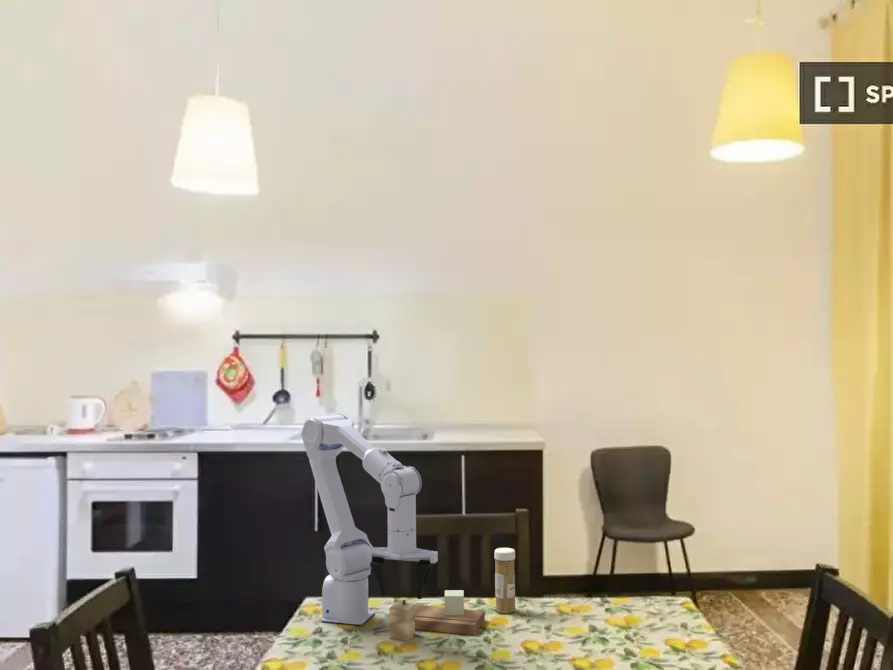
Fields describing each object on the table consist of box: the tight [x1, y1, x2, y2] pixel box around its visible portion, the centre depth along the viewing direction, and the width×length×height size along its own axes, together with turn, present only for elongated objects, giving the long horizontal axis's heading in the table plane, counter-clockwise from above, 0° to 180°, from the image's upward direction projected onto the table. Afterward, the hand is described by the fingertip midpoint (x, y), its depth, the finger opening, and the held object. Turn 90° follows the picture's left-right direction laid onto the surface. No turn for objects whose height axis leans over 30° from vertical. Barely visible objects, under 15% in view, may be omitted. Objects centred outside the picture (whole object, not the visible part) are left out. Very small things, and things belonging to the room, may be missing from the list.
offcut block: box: [444, 589, 465, 615], centre depth 168 cm, size 4×4×4 cm
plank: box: [415, 604, 486, 636], centre depth 167 cm, size 16×9×2 cm, turn 74°
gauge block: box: [389, 599, 416, 641], centre depth 160 cm, size 4×4×7 cm
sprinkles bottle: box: [493, 547, 516, 615], centre depth 175 cm, size 5×5×14 cm
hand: (402, 596), depth 160 cm, fingers open, 7 cm apart
